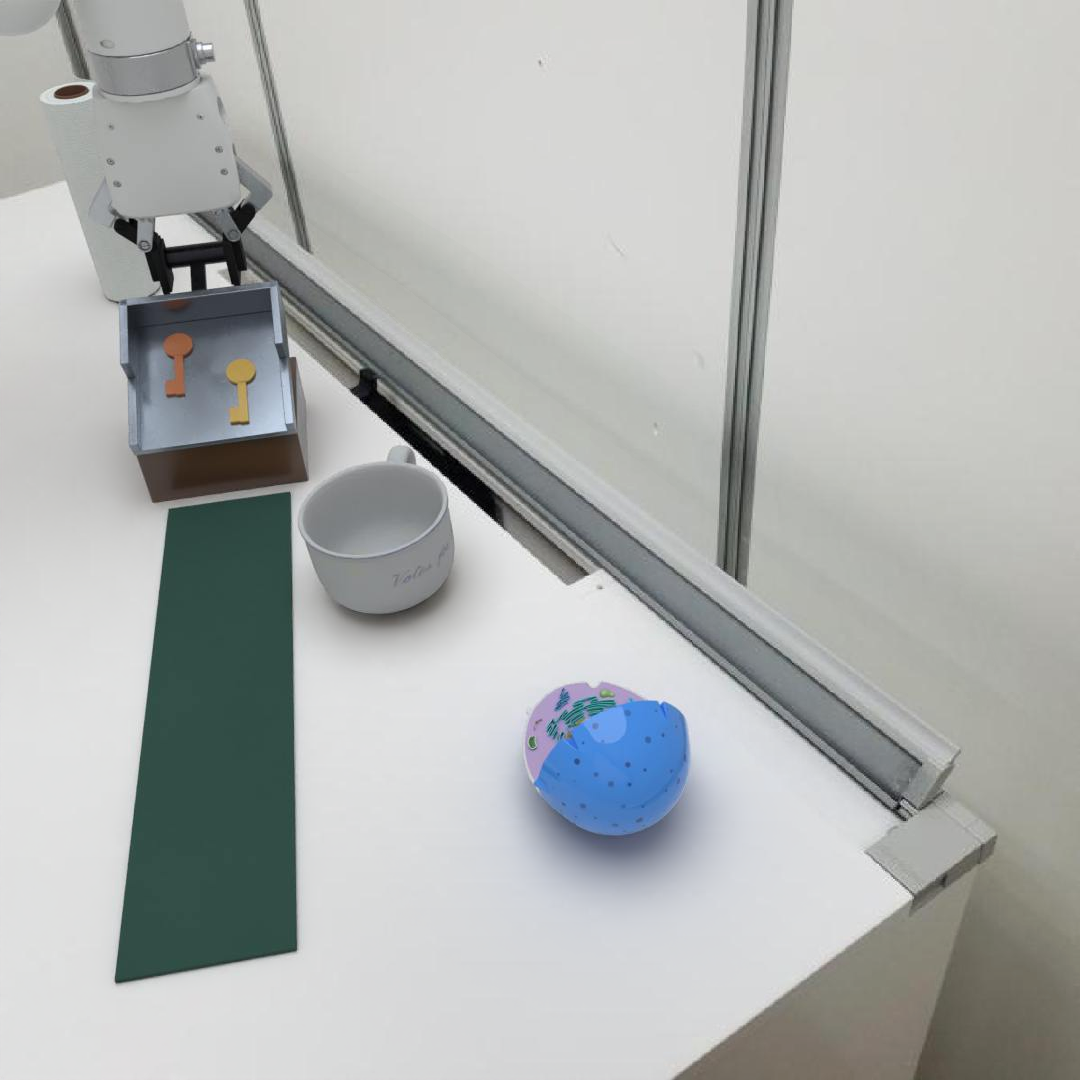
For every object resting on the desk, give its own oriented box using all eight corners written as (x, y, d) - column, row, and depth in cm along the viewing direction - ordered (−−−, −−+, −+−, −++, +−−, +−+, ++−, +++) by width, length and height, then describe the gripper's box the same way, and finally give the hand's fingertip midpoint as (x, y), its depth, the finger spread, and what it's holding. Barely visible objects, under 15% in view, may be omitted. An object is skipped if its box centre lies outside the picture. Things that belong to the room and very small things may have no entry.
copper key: (163, 337, 97) (162, 334, 97) (192, 333, 97) (191, 331, 97) (166, 397, 94) (165, 395, 94) (195, 393, 94) (194, 391, 94)
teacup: (422, 649, 82) (409, 566, 77) (289, 617, 85) (267, 535, 80) (495, 528, 91) (487, 447, 86) (373, 502, 95) (359, 423, 89)
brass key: (225, 362, 96) (225, 360, 96) (254, 359, 96) (254, 357, 96) (230, 425, 93) (229, 423, 93) (259, 421, 93) (259, 419, 93)
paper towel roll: (139, 307, 121) (76, 104, 107) (92, 299, 123) (24, 99, 109) (178, 275, 126) (123, 77, 112) (133, 268, 128) (72, 72, 114)
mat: (169, 511, 95) (168, 508, 95) (290, 494, 96) (290, 491, 96) (115, 983, 64) (114, 980, 64) (297, 950, 65) (295, 947, 64)
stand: (163, 421, 105) (148, 375, 102) (305, 402, 106) (295, 356, 103) (152, 502, 96) (135, 454, 93) (308, 480, 97) (297, 432, 94)
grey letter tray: (130, 281, 100) (115, 248, 96) (280, 263, 101) (271, 230, 98) (134, 455, 92) (118, 427, 89) (297, 433, 94) (288, 404, 90)
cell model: (633, 699, 77) (634, 597, 71) (719, 838, 69) (728, 736, 63) (494, 746, 75) (483, 645, 69) (566, 897, 66) (560, 797, 60)
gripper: (260, 38, 90) (302, 250, 102) (37, 61, 89) (106, 274, 100) (259, 70, 85) (304, 291, 97) (21, 95, 83) (96, 317, 95)
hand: (202, 280), depth 98 cm, fingers closed on grey letter tray, 5 cm apart
